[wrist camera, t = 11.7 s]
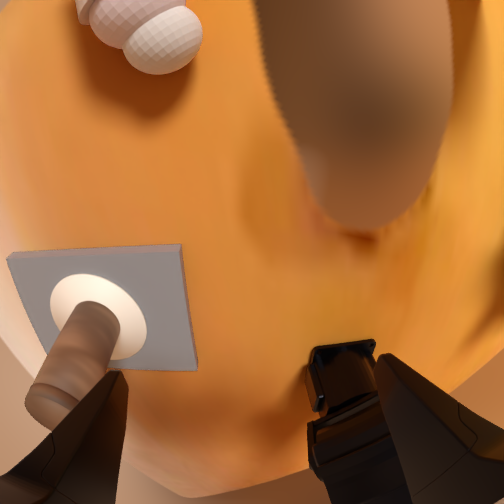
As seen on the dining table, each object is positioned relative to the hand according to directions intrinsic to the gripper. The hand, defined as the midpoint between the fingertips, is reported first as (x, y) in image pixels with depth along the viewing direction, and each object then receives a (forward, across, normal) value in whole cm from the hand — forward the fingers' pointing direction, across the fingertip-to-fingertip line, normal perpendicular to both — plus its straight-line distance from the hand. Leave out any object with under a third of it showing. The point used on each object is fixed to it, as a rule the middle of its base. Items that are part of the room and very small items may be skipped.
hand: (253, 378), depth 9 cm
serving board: (+13, +12, +7) cm, 19 cm away
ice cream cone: (+13, +7, -17) cm, 23 cm away
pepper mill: (+12, +12, +7) cm, 18 cm away
